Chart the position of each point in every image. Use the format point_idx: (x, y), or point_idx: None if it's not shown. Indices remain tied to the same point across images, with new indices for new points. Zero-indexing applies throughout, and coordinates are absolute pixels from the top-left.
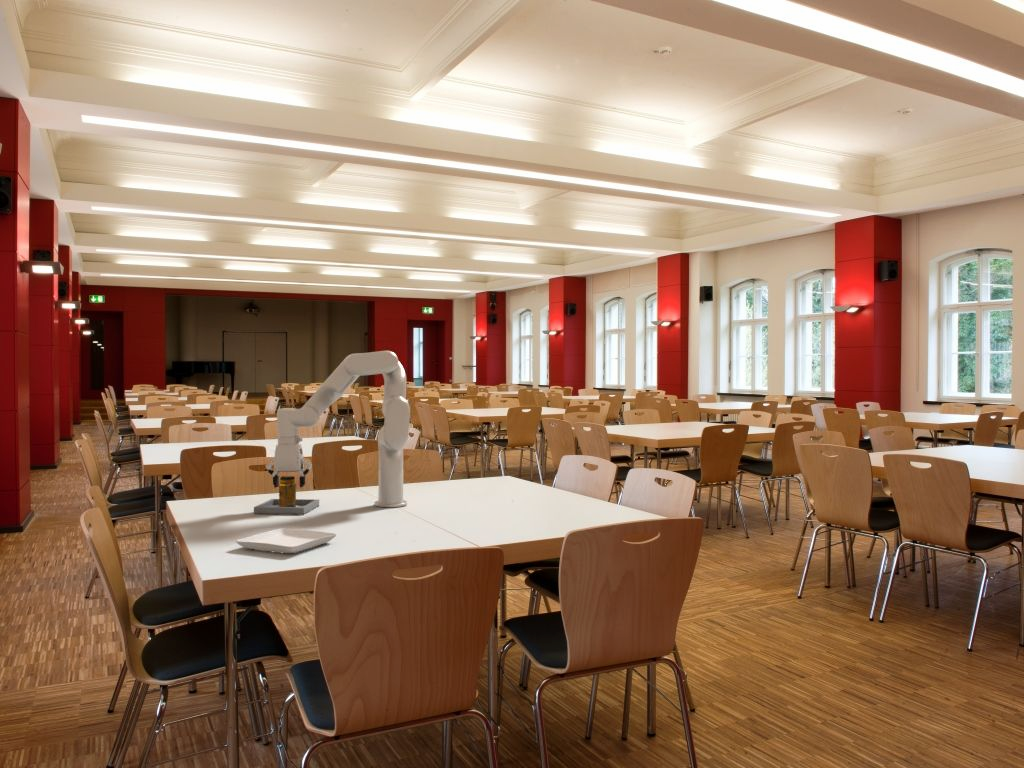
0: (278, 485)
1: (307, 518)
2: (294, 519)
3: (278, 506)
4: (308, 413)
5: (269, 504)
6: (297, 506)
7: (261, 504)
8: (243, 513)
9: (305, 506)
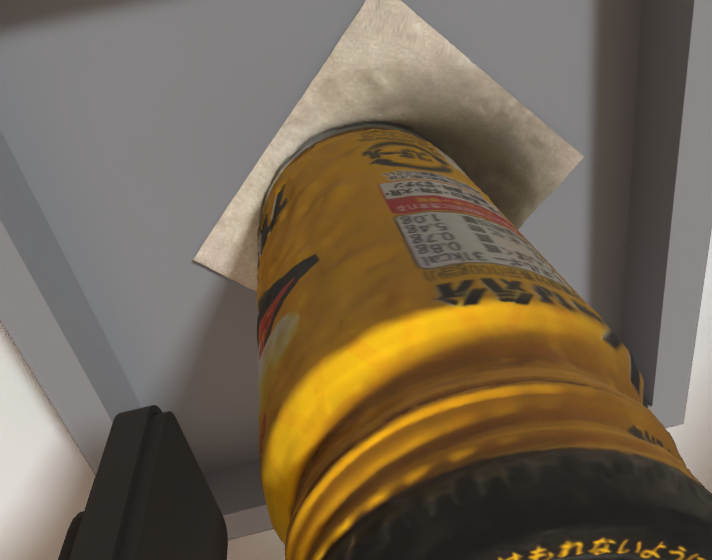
0: (175, 439)
1: (703, 466)
2: None
3: (139, 121)
4: None
5: (14, 195)
6: (431, 57)
7: (95, 432)
8: (32, 509)
9: (679, 354)
